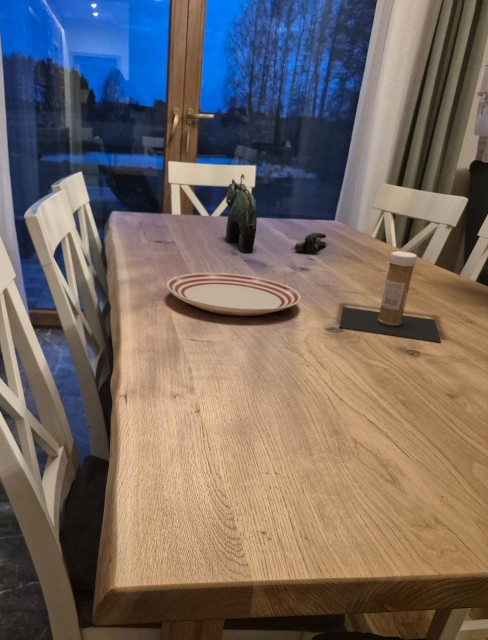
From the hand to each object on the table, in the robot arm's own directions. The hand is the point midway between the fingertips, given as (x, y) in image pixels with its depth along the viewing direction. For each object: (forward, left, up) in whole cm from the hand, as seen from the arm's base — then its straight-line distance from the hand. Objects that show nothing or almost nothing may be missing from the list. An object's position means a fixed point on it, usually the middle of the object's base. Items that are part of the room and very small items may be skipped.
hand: (482, 161), depth 118 cm
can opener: (+34, -39, -29) cm, 59 cm away
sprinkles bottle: (+13, +26, -29) cm, 41 cm away
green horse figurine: (+55, -31, -29) cm, 70 cm away
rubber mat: (+13, +26, -29) cm, 41 cm away
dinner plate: (+44, +27, -29) cm, 59 cm away
